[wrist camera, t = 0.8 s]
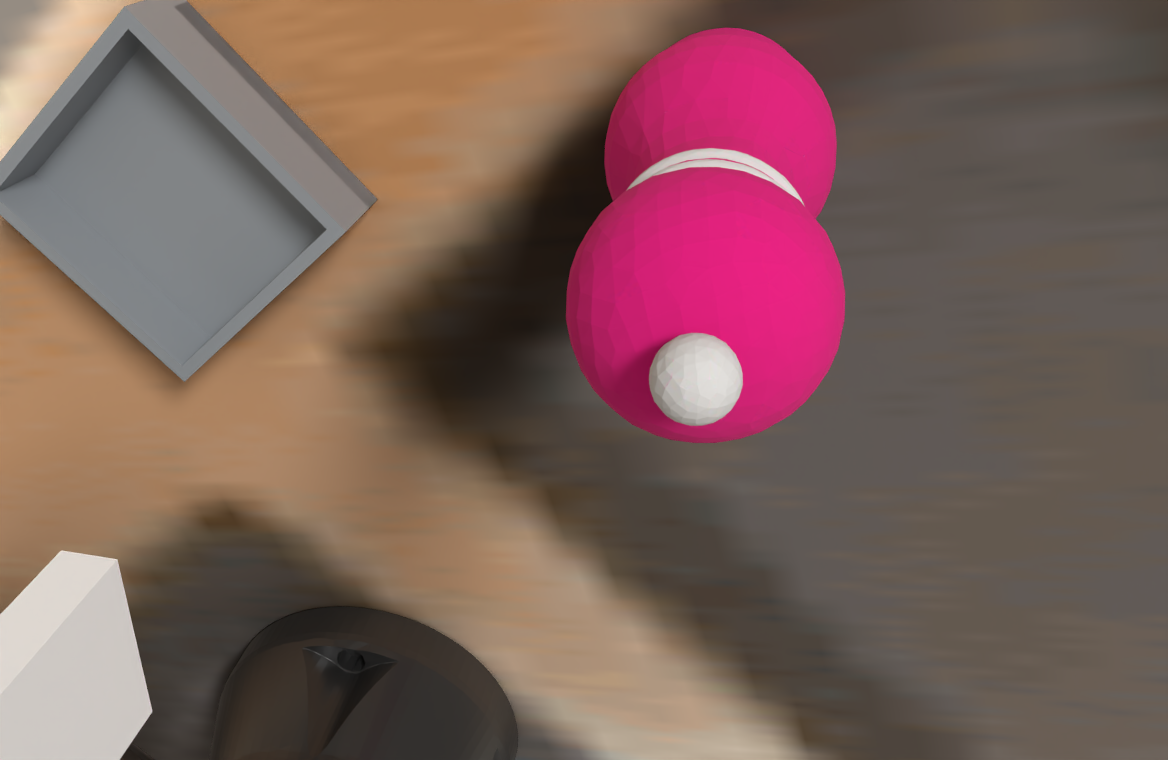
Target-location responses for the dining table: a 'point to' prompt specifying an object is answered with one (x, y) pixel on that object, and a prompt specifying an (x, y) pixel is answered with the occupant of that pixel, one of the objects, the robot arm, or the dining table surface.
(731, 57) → the pepper mill
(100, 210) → the tray
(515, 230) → the dining table surface
